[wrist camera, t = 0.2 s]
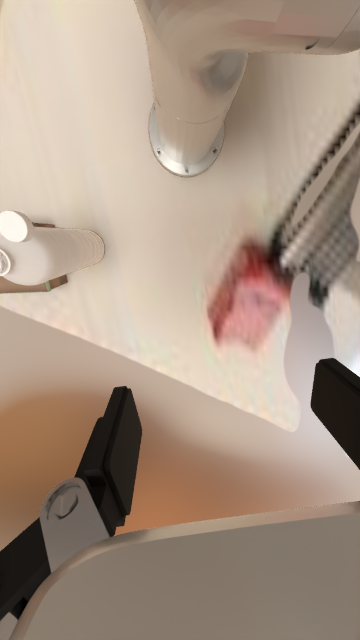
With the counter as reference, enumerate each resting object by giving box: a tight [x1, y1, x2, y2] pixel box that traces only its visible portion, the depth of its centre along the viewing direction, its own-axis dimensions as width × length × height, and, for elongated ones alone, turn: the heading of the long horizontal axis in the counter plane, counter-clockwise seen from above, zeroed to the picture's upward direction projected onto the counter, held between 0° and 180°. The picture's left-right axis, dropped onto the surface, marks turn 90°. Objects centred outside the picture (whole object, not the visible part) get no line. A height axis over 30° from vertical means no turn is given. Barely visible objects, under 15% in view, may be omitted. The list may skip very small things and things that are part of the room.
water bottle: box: [0, 211, 105, 285], centre depth 30 cm, size 9×6×25 cm
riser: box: [0, 222, 67, 293], centre depth 38 cm, size 11×11×8 cm
